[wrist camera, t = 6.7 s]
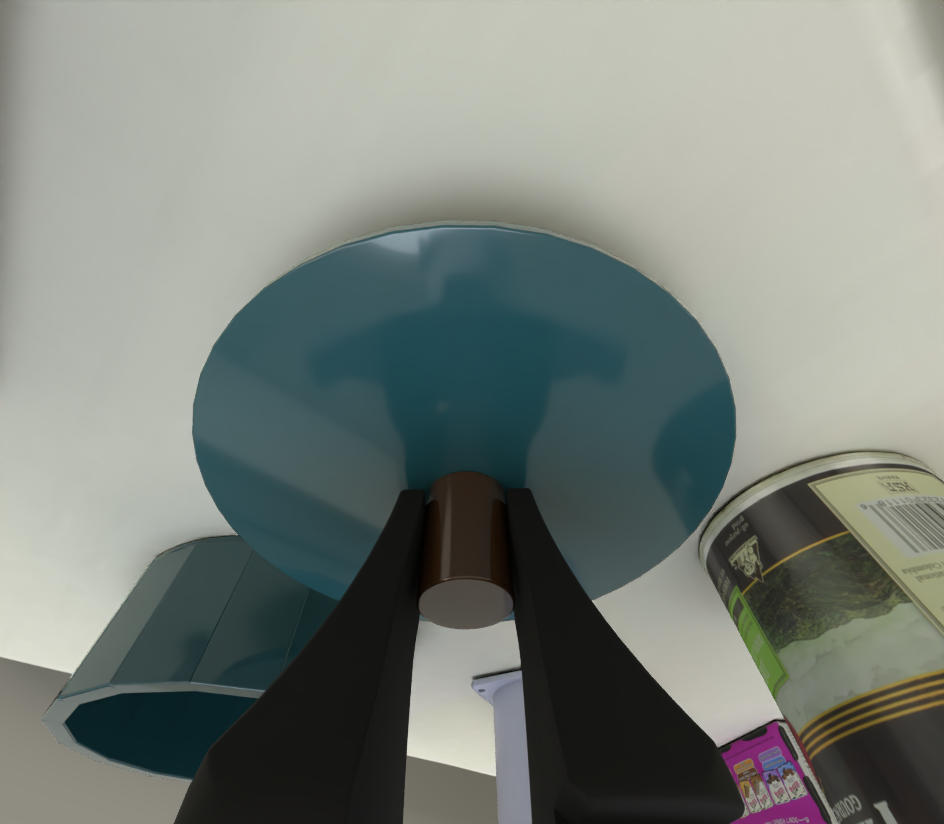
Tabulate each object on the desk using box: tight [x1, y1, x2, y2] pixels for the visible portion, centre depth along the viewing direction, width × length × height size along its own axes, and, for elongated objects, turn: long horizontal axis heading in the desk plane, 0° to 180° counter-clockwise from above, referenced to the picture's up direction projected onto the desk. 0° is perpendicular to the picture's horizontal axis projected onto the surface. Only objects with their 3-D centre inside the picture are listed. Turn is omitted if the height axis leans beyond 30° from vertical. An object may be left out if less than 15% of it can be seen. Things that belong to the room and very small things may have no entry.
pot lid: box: [192, 220, 736, 629], centre depth 12 cm, size 16×16×4 cm
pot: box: [42, 536, 339, 783], centre depth 21 cm, size 15×15×6 cm
